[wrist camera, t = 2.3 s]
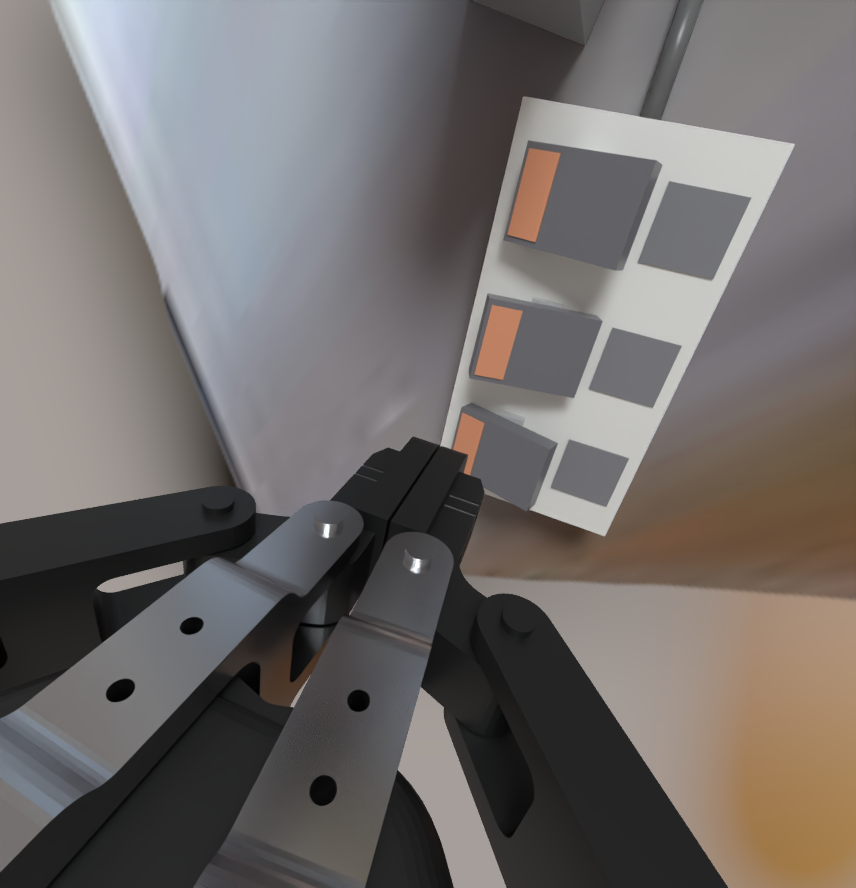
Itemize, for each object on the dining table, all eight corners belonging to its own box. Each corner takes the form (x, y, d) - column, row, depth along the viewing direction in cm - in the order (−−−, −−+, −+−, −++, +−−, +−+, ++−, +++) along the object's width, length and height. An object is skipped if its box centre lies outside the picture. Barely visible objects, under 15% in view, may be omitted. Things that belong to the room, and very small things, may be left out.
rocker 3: (558, 442, 27) (549, 449, 26) (535, 504, 29) (526, 512, 28) (471, 402, 30) (460, 407, 29) (456, 461, 32) (445, 467, 31)
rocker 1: (662, 164, 20) (655, 160, 19) (622, 270, 22) (615, 270, 21) (538, 145, 23) (527, 140, 22) (513, 240, 25) (502, 240, 24)
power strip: (848, -18, 20) (907, -76, 16) (604, 504, 34) (604, 542, 30) (574, -49, 23) (567, -106, 19) (449, 451, 37) (430, 480, 33)
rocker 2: (596, 315, 25) (603, 321, 24) (568, 389, 27) (574, 398, 26) (487, 293, 25) (489, 298, 24) (468, 370, 27) (469, 378, 26)
